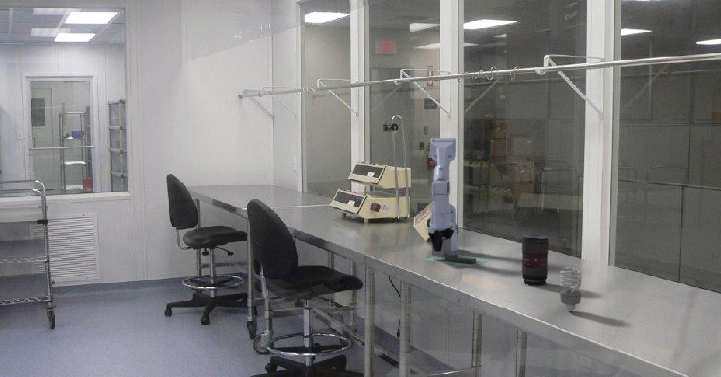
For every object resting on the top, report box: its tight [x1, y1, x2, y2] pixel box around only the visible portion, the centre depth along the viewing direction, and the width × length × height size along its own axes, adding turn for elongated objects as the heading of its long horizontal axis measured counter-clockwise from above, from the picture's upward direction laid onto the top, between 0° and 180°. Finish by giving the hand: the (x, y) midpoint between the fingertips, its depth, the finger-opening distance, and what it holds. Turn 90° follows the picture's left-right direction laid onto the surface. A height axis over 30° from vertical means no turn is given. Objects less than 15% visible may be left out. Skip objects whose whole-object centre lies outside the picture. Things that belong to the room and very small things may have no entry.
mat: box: [423, 254, 491, 268], centre depth 273 cm, size 15×20×1 cm
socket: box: [431, 237, 452, 257], centre depth 273 cm, size 5×5×7 cm
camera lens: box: [521, 234, 550, 287], centre depth 233 cm, size 8×8×15 cm
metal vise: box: [432, 253, 477, 265], centre depth 270 cm, size 17×6×4 cm, turn 49°
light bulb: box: [559, 266, 583, 311], centre depth 201 cm, size 6×6×12 cm
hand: (441, 250), depth 274 cm, fingers closed on socket, 5 cm apart
